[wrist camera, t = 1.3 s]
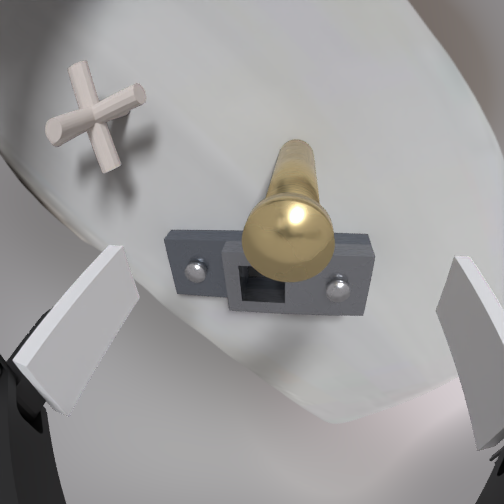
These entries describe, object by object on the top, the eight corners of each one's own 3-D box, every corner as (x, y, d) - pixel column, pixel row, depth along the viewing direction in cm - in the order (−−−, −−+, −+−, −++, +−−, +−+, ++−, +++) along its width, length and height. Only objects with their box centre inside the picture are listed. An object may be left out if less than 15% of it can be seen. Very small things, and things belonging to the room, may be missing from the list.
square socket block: (171, 229, 32) (152, 254, 28) (367, 234, 28) (376, 261, 24) (183, 282, 35) (168, 310, 31) (358, 290, 32) (363, 321, 28)
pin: (272, 133, 25) (237, 201, 12) (319, 134, 24) (338, 203, 12) (274, 177, 27) (245, 280, 14) (319, 178, 26) (331, 283, 14)
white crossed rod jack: (183, 137, 26) (128, 172, 18) (102, 167, 29) (40, 207, 20) (152, 41, 21) (83, 35, 13) (74, 84, 24) (2, 101, 16)
